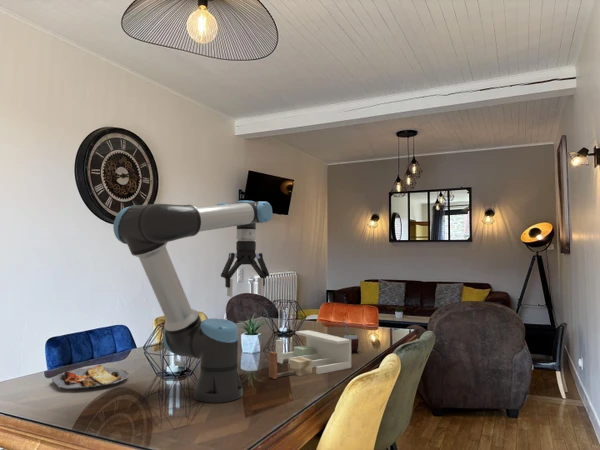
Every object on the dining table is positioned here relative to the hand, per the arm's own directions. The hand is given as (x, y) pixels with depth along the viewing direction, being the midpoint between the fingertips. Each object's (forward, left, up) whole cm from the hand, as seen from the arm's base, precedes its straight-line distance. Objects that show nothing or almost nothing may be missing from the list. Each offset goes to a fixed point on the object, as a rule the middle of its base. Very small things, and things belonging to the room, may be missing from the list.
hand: (245, 295), depth 179 cm
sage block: (+26, +3, -29) cm, 39 cm away
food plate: (-51, +18, -29) cm, 61 cm away
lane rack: (+28, -6, -29) cm, 41 cm away
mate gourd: (+56, +1, -29) cm, 63 cm away
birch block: (+11, -15, -29) cm, 34 cm away
